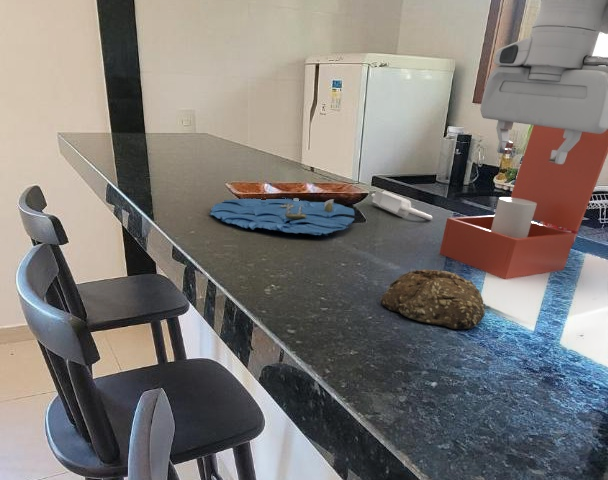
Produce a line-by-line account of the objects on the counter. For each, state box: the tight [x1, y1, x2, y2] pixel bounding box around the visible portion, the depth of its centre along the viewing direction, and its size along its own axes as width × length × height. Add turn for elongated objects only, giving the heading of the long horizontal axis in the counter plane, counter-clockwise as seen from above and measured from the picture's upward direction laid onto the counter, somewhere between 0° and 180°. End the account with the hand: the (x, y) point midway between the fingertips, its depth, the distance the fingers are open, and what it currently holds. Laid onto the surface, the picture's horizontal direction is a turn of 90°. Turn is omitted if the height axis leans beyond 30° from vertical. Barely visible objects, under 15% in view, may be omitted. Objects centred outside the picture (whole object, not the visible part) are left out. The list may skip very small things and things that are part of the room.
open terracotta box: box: [439, 214, 576, 280], centre depth 88 cm, size 16×14×7 cm
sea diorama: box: [208, 197, 355, 236], centre depth 103 cm, size 30×30×5 cm
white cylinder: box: [491, 196, 537, 238], centre depth 87 cm, size 6×6×10 cm
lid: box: [510, 125, 608, 232], centre depth 87 cm, size 16×14×1 cm
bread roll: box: [380, 268, 486, 330], centre depth 67 cm, size 13×12×5 cm
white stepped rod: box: [371, 190, 433, 221], centre depth 122 cm, size 20×8×4 cm, turn 23°
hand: (528, 158), depth 81 cm, fingers open, 8 cm apart
